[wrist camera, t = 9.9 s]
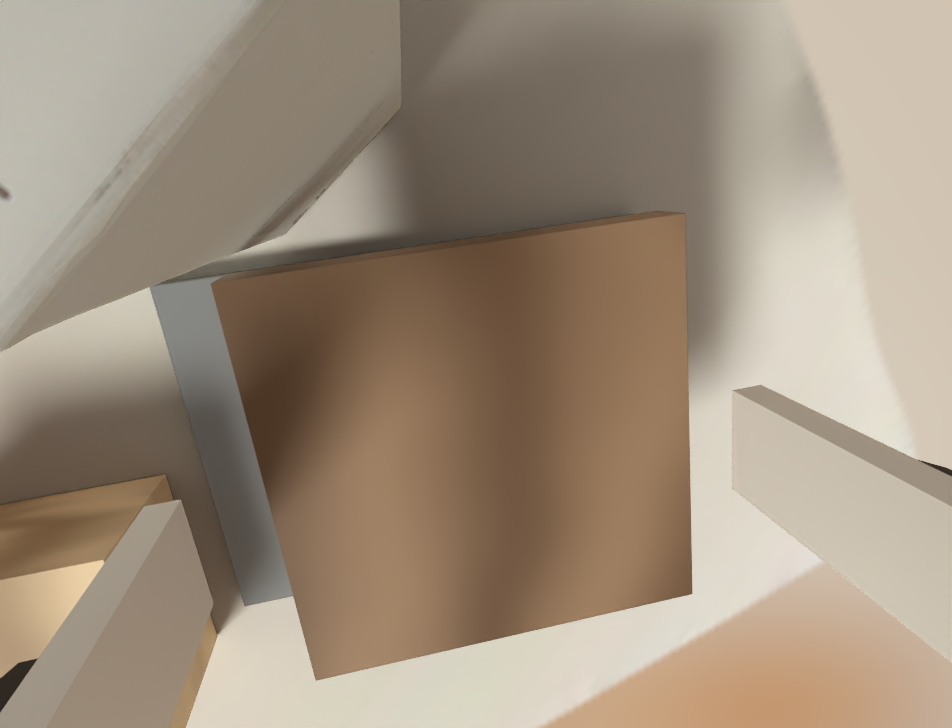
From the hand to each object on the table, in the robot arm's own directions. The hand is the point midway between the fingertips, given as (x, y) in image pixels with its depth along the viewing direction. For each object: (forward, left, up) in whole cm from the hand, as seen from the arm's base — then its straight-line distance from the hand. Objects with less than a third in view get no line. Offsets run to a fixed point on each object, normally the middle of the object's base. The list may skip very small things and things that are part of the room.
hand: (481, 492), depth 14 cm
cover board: (0, 0, -3) cm, 3 cm away
